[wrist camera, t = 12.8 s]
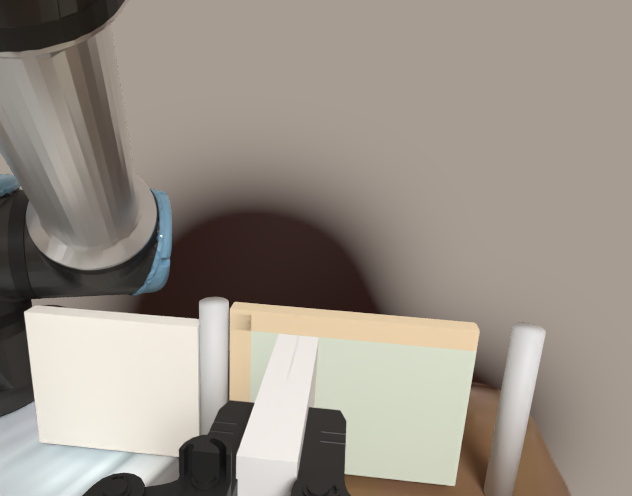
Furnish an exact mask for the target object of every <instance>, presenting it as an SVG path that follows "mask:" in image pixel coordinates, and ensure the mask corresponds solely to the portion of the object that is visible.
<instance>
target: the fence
mask: <svg viewBox="0 0 632 496" xmlns="http://www.w3.org/2000/svg"><path fill="white" fill-rule="evenodd" d="M24 316H25V324H26V332H27V341H28V349H29V357H30V365H31V374H32V382H33V390H34V399H35V407H36V415H37V423H38V432H39V440H40V442H41V443H50V444H60V445H69V446H79V447H88V448H98V449H107V450H117V451H126V452H136V453H145V454H155V455H164V456H174V457H179V448H180V447H181V446H182V445H183V443H184V442H186V441H188V440H189V439H191V438H193V437H196V436H200V435H208V433H209V432H210V428H211V426H212V424H213V423H214V419H215V417H216V415H217V413H218V411H219V409H220V408H221V407H223V406H224V405H225V404H226V403H227V402H228V401H229V392H230V350H229V301H228V300H227V299H225V298H221V297H209V298H204V299H202V300H201V301H200V302H199V319H189V318H178V317H167V316H155V315H142V314H132V313H120V312H108V311H97V310H85V309H74V308H62V307H51V306H39V305H35V306H33V307H32V308H30V309H28V310H26V311H25V312H24ZM545 333H546V331H545V330H544V329H543V328H541V327H540V326H537V325H535V324H530V323H525V322H518V323H515V324H513V328H512V334H511V340H510V345H509V350H508V356H507V362H506V367H505V373H504V379H503V384H502V389H501V395H500V400H499V406H498V411H497V417H496V422H495V428H494V434H493V439H492V445H491V450H490V456H489V461H488V467H487V472H486V478H485V483H484V489H483V492H484V494H485V496H513V492H514V487H515V482H516V477H517V472H518V467H519V462H520V457H521V452H522V447H523V442H524V437H525V432H526V427H527V422H528V417H529V412H530V407H531V402H532V397H533V392H534V388H535V382H536V377H537V373H538V368H539V363H540V358H541V352H542V347H543V343H544V338H545Z"/></svg>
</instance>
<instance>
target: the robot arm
mask: <svg viewBox="0 0 632 496" xmlns="http://www.w3.org/2000/svg"><path fill="white" fill-rule="evenodd" d="M128 1H129V0H0V153H1V154H2V156H3V157H4V159H5V161H6V162H7V164H8V166H9V167H10V169H11V171H12V172H13V174H14V175H10V174H0V416H2V415H5V414H8V413H10V412H13V411H15V410H17V409H19V408H21V407H23V406H25V405H27V404H29V403H30V402H32V401H34V400H35V399H34V390H33V382H32V374H31V365H30V357H29V349H28V341H27V332H26V324H25V316H24V312H25V311H26V310H28V309H30V308H32V302H31V299H41V298H57V297H78V296H99V295H120V294H128V295H139V294H141V293H147V292H155V291H158V290H160V289H161V288H162V287H163V286H164V285H165V283H166V281H167V279H168V274H169V269H170V258H169V257H170V255H171V246H172V245H171V244H172V218H171V207H170V201H169V198H168V196H167V194H166V193H165V192H163V191H157V190H154V189H152V188H149V187H148V186H147V185H146V184H145V182H144V181H143V180H142V179H141V178H140V177H139V176H137V175H136V174H135V172H134V166H133V159H132V154H131V147H130V140H129V134H128V128H127V121H126V115H125V109H124V103H123V97H122V90H121V84H120V78H119V72H118V65H117V59H116V53H115V46H114V40H113V34H112V28H111V23H112V22H113V21H114V20H115V19H116V18H117V17H118V16H119V14H120V13H121V12H122V11H123V9H124V8H125V6H126V4H127V3H128ZM20 186H21V187H22V189H23V190H21V189H19V187H20ZM318 343H319V337H309V336H298V335H287V334H279V335H278V338H277V341H276V343H275V346H274V349H273V352H272V355H271V358H270V361H269V363H268V366H267V369H266V372H265V375H264V378H263V381H262V384H261V386H260V389H259V392H258V395H257V398H256V401H255V403H253V402H243V401H233V400H230V401H228V402H227V403H226V404H225V405H224V406H223V407H221V408H220V409H219V411H218V413H217V415H216V417H215V419H214V423H213V424H212V426H211V428H210V432H209V433H208V435H200V436H196V437H193V438H191V439H189V440H188V441H186V442H184V443H183V445H182V446H181V447H180V448H179V475H180V477H179V479H178V480H176V481H173V482H171V483H167V484H163V485H156V486H150V487H145V484H144V483H143V481H142V479H141V478H140V477H138V476H136V475H135V474H130V473H119V474H113V475H110V476H108V477H105V478H103V479H101V480H100V481H98V482H97V483H96V484H94V485H93V486H92V487H91V488H90V489H89V490H88V491H87V492H86V493H85V494H84V495H83V496H351V495H350V494H349V493H348V491H347V489H346V487H345V481H344V475H345V448H346V422H347V421H346V419H345V418H344V416H343V414H342V412H341V411H340V410H333V409H323V408H314V402H315V388H316V373H317V358H318Z"/></svg>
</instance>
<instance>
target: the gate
mask: <svg viewBox="0 0 632 496" xmlns="http://www.w3.org/2000/svg"><path fill="white" fill-rule="evenodd" d="M479 331H480V330H479V329H478V327H477V325H476V323H473V322H461V321H450V320H438V319H426V318H415V317H414V318H413V317H403V316H392V315H380V314H368V313H357V312H345V311H333V310H322V309H310V308H298V307H287V306H276V305H264V304H252V303H241V302H234V304H233V305H232V307H231V308H230V392H229V401H230V400H233V401H243V402H253V403H255V401H256V398H257V395H258V392H259V389H260V386H261V384H262V381H263V378H264V375H265V372H266V369H267V366H268V363H269V361H270V358H271V355H272V352H273V349H274V346H275V343H276V341H277V338H278V335H279V334H287V335H298V336H309V337H319V343H318V358H317V373H316V388H315V402H314V408H323V409H333V410H340V411H341V412H342V414H343V416H344V418H345V419H346V421H347V422H346V448H345V474H350V475H359V476H368V477H377V478H386V479H395V480H404V481H413V482H422V483H431V484H440V485H449V486H455V481H456V475H457V469H458V463H459V457H460V450H461V444H462V438H463V432H464V425H465V419H466V413H467V407H468V400H469V394H470V388H471V382H472V375H473V369H474V363H475V357H476V351H477V344H478V338H479Z"/></svg>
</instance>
